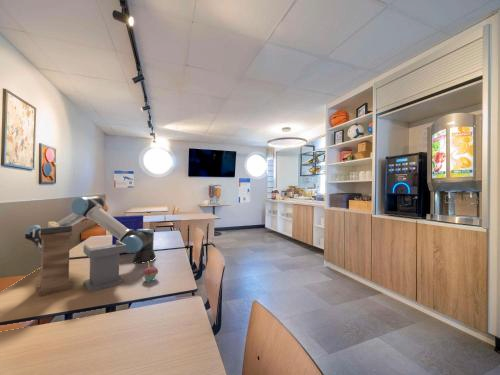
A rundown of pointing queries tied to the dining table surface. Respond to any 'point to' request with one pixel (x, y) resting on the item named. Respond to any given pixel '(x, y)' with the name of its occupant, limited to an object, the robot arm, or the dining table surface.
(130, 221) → the cereal box
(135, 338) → the dining table surface
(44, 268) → the pin stand
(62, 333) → the dining table surface
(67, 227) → the pin
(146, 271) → the cupcake
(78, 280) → the dining table surface
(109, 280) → the tray stand
